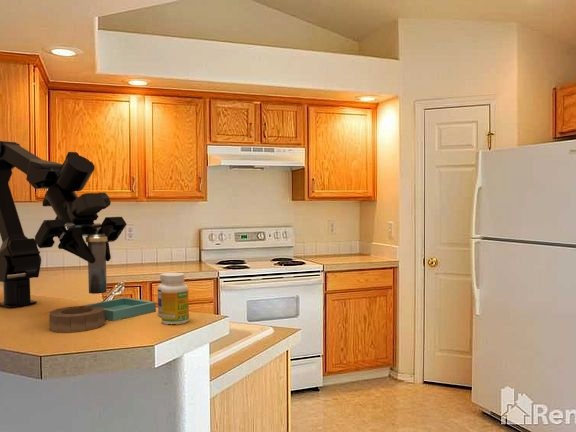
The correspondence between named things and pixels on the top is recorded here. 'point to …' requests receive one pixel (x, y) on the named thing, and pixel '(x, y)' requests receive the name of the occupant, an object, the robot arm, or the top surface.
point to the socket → (76, 318)
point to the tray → (124, 308)
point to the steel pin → (97, 263)
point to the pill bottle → (160, 293)
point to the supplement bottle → (174, 299)
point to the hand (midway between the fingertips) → (101, 260)
